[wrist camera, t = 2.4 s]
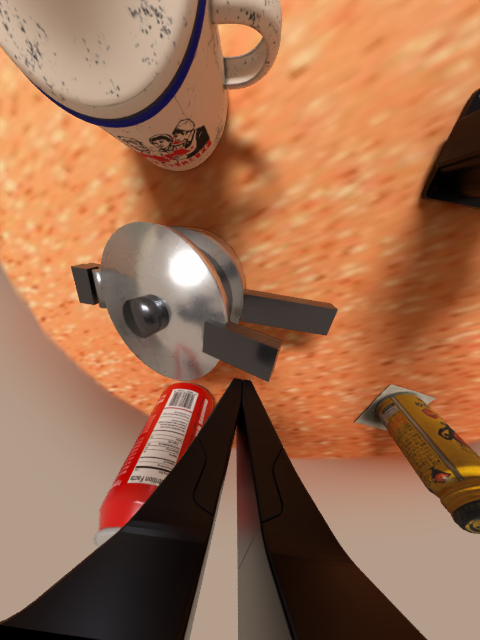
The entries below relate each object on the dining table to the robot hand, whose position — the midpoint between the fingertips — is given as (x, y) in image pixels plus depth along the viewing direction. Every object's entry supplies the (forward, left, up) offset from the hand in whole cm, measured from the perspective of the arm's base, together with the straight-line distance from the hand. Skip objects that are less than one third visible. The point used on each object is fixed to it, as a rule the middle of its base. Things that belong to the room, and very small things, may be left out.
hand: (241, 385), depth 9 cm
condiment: (-24, +13, -13) cm, 31 cm away
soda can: (+6, +17, -13) cm, 23 cm away
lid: (+5, -1, -5) cm, 7 cm away
